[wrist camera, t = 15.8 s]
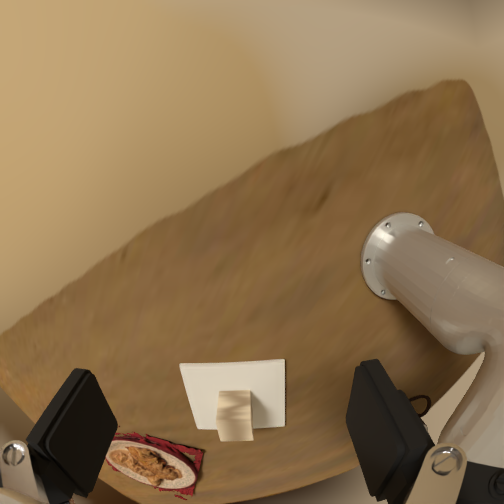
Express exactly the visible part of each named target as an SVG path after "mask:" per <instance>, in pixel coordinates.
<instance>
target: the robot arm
mask: <svg viewBox="0 0 504 504" xmlns="http://www.w3.org/2000/svg"><path fill="white" fill-rule="evenodd" d="M386 223H387V225H386ZM385 225H386V226H385ZM366 260H367V261H366ZM361 271H362V275H363V278H364V280H365V282H366V284H367V285H368V287H369V288H370V289H371V290H372V291H373V292H374V293H375V294H376V295H378V296H380V297H382V298H385V299H390V300H396V299H397V300H398V301H399V302H400V303H401V304H402V305H403V306H404V307H405V308H406V309H407V310H408V311H409V312H410V313H411V314H412V315H413V316H414V317H415V318H416V319H417V320H418V321H419V322H420V323H421V324H422V325H423V326H424V327H425V328H426V329H427V330H428V331H429V332H430V333H431V334H432V335H433V336H434V337H435V338H436V339H437V340H438V341H439V342H440V343H441V344H442V345H443V346H444V347H445V348H447V349H448V350H450V351H452V352H454V353H457V354H465V355H467V354H476V353H480V352H484V351H485V357H484V360H483V363H482V365H481V367H480V369H479V371H478V373H477V375H476V377H475V379H474V381H473V382H472V384H471V386H470V387H469V389H468V391H467V392H466V394H465V395H464V397H463V399H462V400H461V402H460V403H459V405H458V406H457V408H456V409H455V411H454V412H453V414H452V415H451V417H450V418H449V420H448V421H447V423H446V425H445V426H444V428H443V430H442V432H441V434H440V436H439V439H438V443H437V445H436V446H435V444H434V443H433V441H432V439H431V437H430V435H429V434H428V432H427V430H426V428H425V427H424V425H423V423H422V422H421V420H420V418H419V416H418V415H417V413H416V411H415V410H414V408H413V406H412V405H411V403H410V401H409V400H408V398H407V396H406V395H405V393H404V392H403V391H402V390H397V389H396V388H395V386H394V384H393V383H392V381H391V379H390V378H389V376H388V374H387V373H386V371H385V369H384V368H383V366H382V365H381V363H380V361H379V360H378V359H373V360H368V361H362V362H361V363H360V366H357V367H356V368H355V373H354V379H353V385H352V390H351V395H350V400H349V405H348V410H347V414H346V424H347V427H348V430H349V433H350V436H351V439H352V442H353V445H354V448H355V451H356V454H357V457H358V460H359V463H360V466H361V469H362V472H363V475H364V478H365V481H366V484H367V487H368V490H369V493H370V495H371V496H372V497H373V496H376V499H377V501H382V500H385V499H387V502H388V504H504V267H502V266H500V265H498V264H496V263H494V262H492V261H490V260H488V259H486V258H484V257H481V256H479V255H477V254H475V253H473V252H471V251H469V250H467V249H464V248H462V247H460V246H458V245H456V244H454V243H451V242H449V241H447V240H445V239H443V238H440V237H438V236H436V235H434V232H433V230H432V228H431V227H430V225H429V224H428V223H427V222H426V221H425V220H424V219H423V218H421V217H419V216H417V215H415V214H411V213H407V212H399V213H395V214H391V215H389V216H387V217H385V218H384V219H382V220H381V221H380V222H379V223H377V225H376V226H375V227H374V228H373V229H372V230H371V232H370V233H369V235H368V236H367V238H366V241H365V243H364V245H363V249H362V253H361ZM117 427H118V424H117V420H116V418H115V416H114V415H113V413H112V411H111V409H110V407H109V405H108V403H107V401H106V399H105V397H104V395H103V393H102V390H101V388H100V386H99V384H98V382H97V379H96V377H95V375H94V374H92V373H91V371H90V370H87V369H79V368H76V369H74V370H73V371H72V372H71V374H70V375H69V377H68V378H67V379H66V381H65V382H64V384H63V385H62V386H61V388H60V389H59V391H58V392H57V393H56V395H55V396H54V398H53V399H52V401H51V402H50V404H49V405H48V406H47V408H46V409H45V411H44V412H43V414H42V415H41V417H40V418H39V420H38V421H37V423H36V424H35V426H34V428H33V429H32V431H31V432H30V434H29V435H28V437H27V439H26V441H27V442H28V445H27V446H26V445H25V444H24V443H23V442H21V441H18V440H14V441H10V442H8V443H6V444H5V445H4V446H3V447H2V449H1V451H0V504H75V503H74V500H73V498H72V495H73V493H75V494H77V495H80V496H83V497H85V498H87V496H88V493H90V492H92V490H93V488H94V486H95V483H96V480H97V478H98V475H99V472H100V470H101V467H102V465H103V462H104V460H105V457H106V455H107V452H108V450H109V447H110V445H111V442H112V440H113V438H114V435H115V433H116V430H117Z"/></svg>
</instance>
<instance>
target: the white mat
mask: <svg viewBox="0 0 504 504" xmlns="http://www.w3.org/2000/svg"><path fill="white" fill-rule="evenodd" d="M180 370H181V373H182V377H183V381H184V385H185V388H186V392H187V395H188V399H189V402H190V405H191V409H192V412H193V415H194V419H195V422H196V425H197V428H198V429H217V425H216V415H217V405H218V396H219V391H233V390H250V393H251V401H252V410H253V428H268V427H280V426H285V360H284V359H278V360H265V361H250V362H230V363H180Z"/></svg>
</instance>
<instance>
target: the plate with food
mask: <svg viewBox="0 0 504 504" xmlns="http://www.w3.org/2000/svg"><path fill="white" fill-rule="evenodd" d="M119 427H120V426H119ZM132 433H133V432H132ZM115 434H116V435H117V434H118V435H119V434H121V433H115ZM122 434H123V433H122ZM127 434H129V433H127ZM123 435H124V436H123V437H115V436H114V438H113V440H112V442H111V445H110V447H109V450H108V452H107V455H106V457H105V459H106V461H107V463H108V465H110V466H112V467H113V470H115V471H119V472H122V473H123V474H125V475H128V477H130V478H132V479H134V480H137V481H139V482H141V483H144V484H147V485H151V486H153V487H154V488H155V489H156V488H159V491H161V490H162V491H172V490H175V491H177V492H178V491H179V492H180V493H181V494H186V495H188V494H189V495H191V496H192V495H193V491H194V490H193V489H194V487H195V483H196V480H197V476H198V472H199V468H200V463H201V459H202V455H203V452H201V451H200V450H199V449H198V450H196V449H194V448H187V447H185V446H182V445H177V444H173V443H169V441H165V440H162V439H158V438H155V437H149V436H148V435H147V434H146V435H147V436H146V437H142V436H140V435H139V434H137V433H135V432H134V434H129V435H131V436H128V437H126V436H127V435H126V434H123ZM178 450H180V451H181V452H184V453H185V452H186V453H189V455H196V456H195V459H196V460H195V461H194V463H196V464H193V463H191V462H190V461H189V460H188V458H186V457H185V456H184V455H183V454H182V453H181V452H179V451H178ZM175 491H173V492H175ZM174 495H175V494H174ZM175 497H178V498H181V499H184V500H187V499H185V498H183V497H182V496H178V495H175Z"/></svg>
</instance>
